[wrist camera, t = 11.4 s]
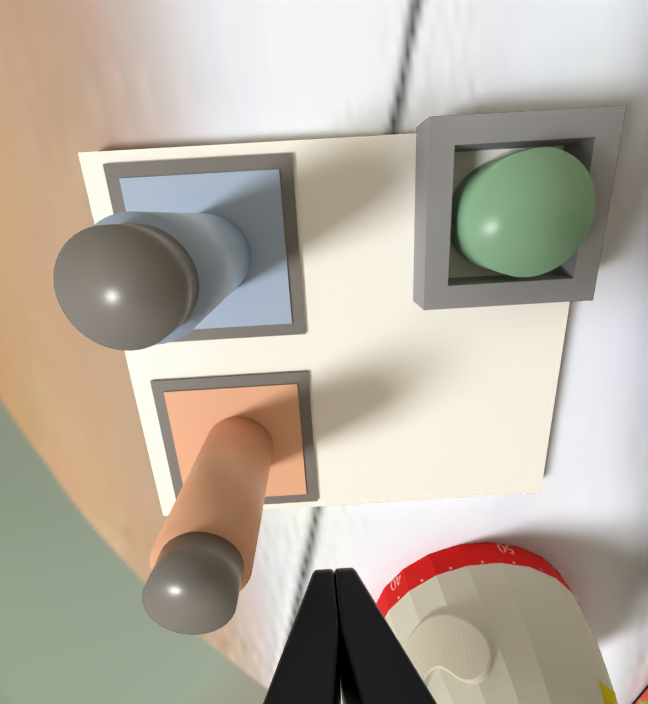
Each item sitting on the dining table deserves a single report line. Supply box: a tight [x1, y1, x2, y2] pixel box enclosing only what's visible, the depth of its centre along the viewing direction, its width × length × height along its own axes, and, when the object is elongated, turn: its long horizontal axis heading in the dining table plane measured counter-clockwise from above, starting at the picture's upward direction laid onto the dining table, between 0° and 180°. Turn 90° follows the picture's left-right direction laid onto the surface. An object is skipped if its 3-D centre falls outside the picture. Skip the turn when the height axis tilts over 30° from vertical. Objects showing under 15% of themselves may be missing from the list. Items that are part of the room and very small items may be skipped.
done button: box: [450, 147, 595, 277], centre depth 16 cm, size 5×5×3 cm
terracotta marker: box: [142, 417, 273, 635], centre depth 17 cm, size 4×4×9 cm
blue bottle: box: [54, 211, 251, 351], centre depth 14 cm, size 4×4×9 cm
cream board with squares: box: [78, 105, 626, 516], centre depth 19 cm, size 22×19×3 cm
